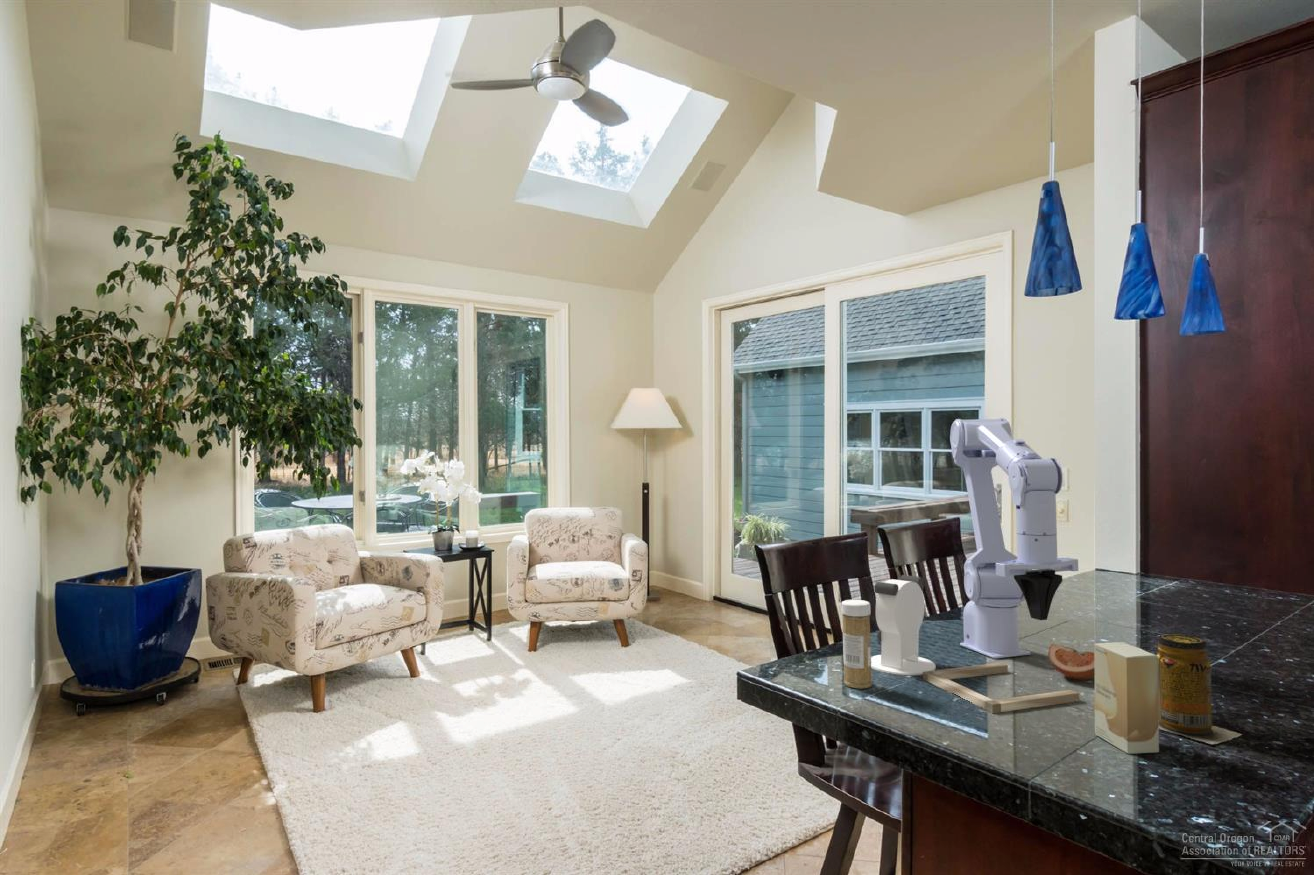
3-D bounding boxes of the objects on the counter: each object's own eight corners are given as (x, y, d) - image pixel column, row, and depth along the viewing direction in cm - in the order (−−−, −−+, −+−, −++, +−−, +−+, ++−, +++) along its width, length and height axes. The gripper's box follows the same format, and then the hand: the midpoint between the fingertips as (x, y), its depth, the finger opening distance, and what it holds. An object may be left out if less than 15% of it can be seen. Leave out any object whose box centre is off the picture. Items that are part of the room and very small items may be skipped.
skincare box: (1093, 735, 94) (1090, 642, 95) (1124, 733, 95) (1121, 640, 95) (1129, 755, 88) (1126, 655, 88) (1162, 753, 88) (1159, 654, 89)
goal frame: (922, 679, 118) (922, 671, 118) (1001, 669, 122) (1001, 662, 122) (992, 713, 103) (992, 704, 103) (1079, 700, 107) (1079, 692, 107)
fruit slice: (1114, 681, 115) (1113, 650, 116) (1098, 690, 111) (1097, 658, 111) (1059, 669, 122) (1058, 640, 122) (1042, 678, 118) (1041, 647, 118)
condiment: (1172, 714, 101) (1169, 629, 101) (1242, 735, 93) (1239, 643, 94) (1141, 724, 98) (1138, 636, 98) (1211, 747, 90) (1208, 651, 90)
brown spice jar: (878, 685, 115) (876, 602, 116) (859, 691, 113) (857, 605, 113) (856, 678, 119) (854, 597, 119) (837, 683, 117) (835, 601, 117)
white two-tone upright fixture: (888, 651, 134) (886, 571, 135) (948, 663, 126) (946, 578, 127) (855, 665, 126) (853, 580, 126) (917, 679, 118) (914, 588, 118)
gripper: (1018, 538, 109) (1021, 628, 109) (1093, 533, 113) (1096, 620, 113) (985, 533, 116) (987, 618, 116) (1057, 529, 120) (1059, 610, 120)
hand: (1038, 618), depth 115 cm, fingers closed
